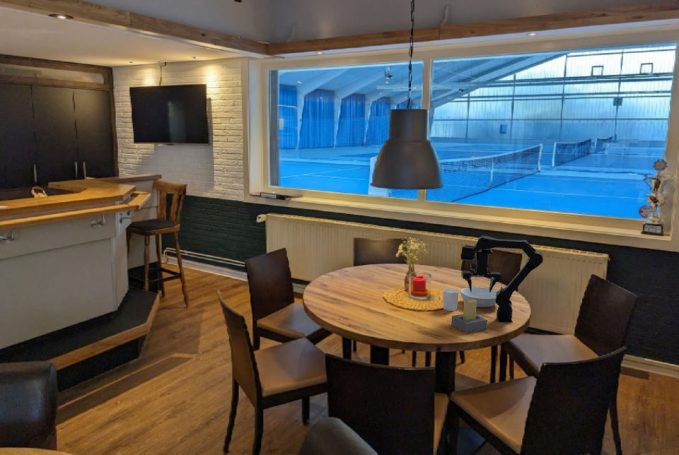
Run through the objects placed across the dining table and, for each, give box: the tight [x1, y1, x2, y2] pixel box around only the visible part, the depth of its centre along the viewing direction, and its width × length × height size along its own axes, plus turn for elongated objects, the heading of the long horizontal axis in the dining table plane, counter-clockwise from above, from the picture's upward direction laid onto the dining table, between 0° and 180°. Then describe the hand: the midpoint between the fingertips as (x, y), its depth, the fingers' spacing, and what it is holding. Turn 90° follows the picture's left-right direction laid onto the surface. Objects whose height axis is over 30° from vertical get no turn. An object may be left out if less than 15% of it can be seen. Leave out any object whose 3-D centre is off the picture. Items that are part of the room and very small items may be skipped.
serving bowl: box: [460, 286, 499, 308], centre depth 277 cm, size 21×21×7 cm
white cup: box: [442, 287, 460, 312], centre depth 269 cm, size 8×8×10 cm
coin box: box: [451, 313, 488, 334], centre depth 246 cm, size 12×11×4 cm
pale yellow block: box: [462, 299, 477, 321], centre depth 245 cm, size 5×3×13 cm, turn 114°
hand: (480, 292), depth 257 cm, fingers open, 9 cm apart
